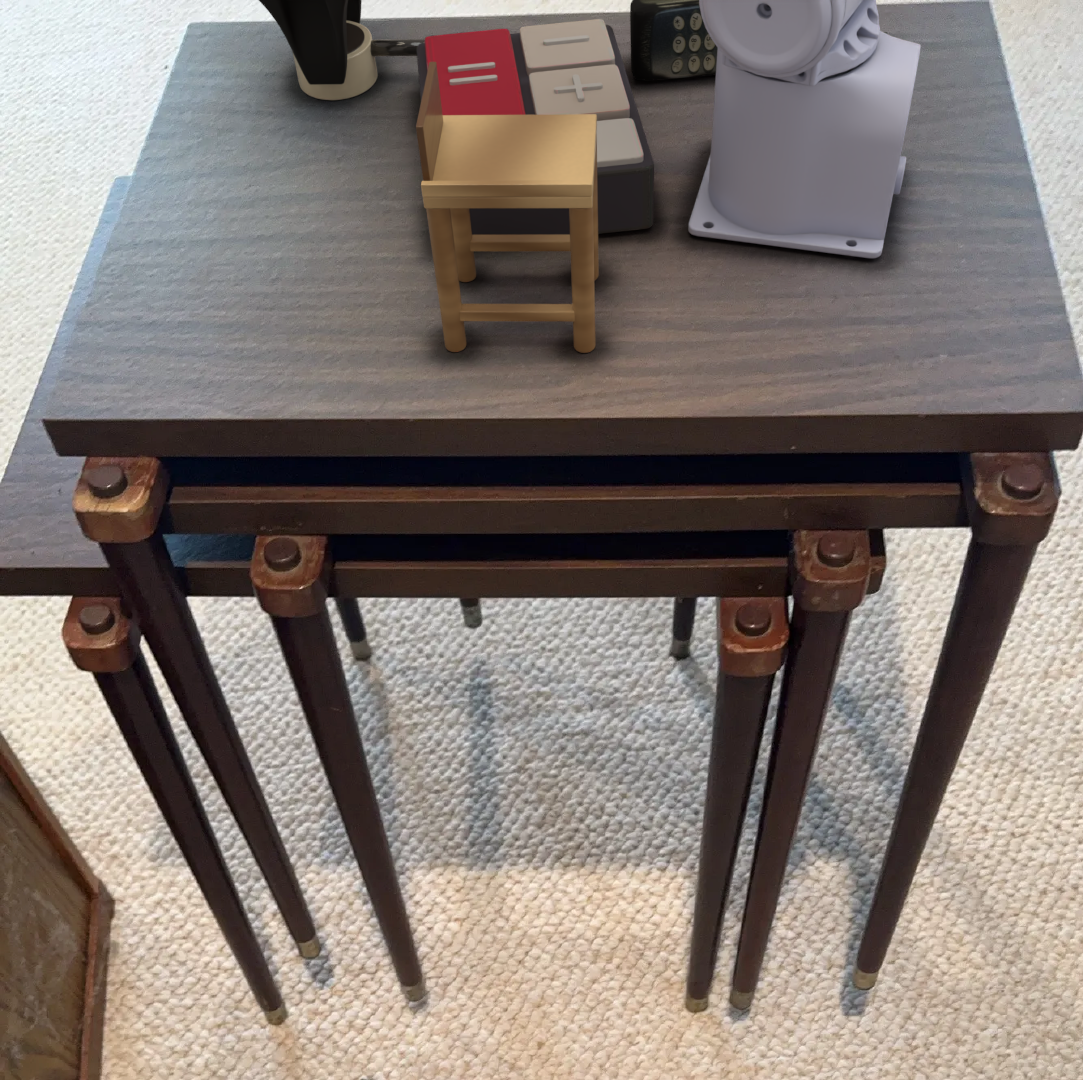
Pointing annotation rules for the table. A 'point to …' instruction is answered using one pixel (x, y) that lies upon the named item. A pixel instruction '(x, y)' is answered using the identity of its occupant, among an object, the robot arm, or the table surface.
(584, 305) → the stand
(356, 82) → the pan
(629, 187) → the calculator
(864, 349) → the table surface
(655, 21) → the mobile phone
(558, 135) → the wooden l-shaped block
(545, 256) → the table surface
